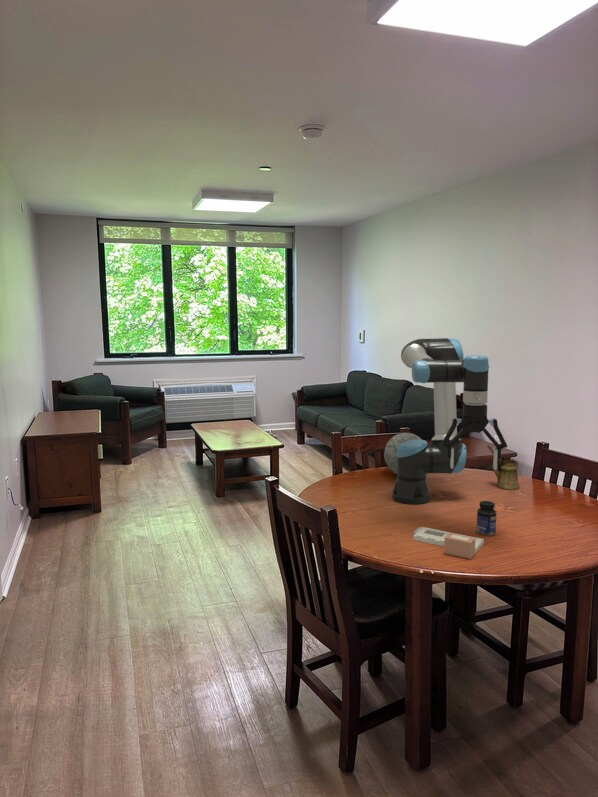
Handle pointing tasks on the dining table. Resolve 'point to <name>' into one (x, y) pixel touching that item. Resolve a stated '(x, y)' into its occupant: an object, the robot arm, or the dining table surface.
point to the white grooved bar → (440, 537)
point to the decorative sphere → (392, 446)
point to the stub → (459, 545)
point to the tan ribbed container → (506, 474)
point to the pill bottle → (486, 518)
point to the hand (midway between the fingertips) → (473, 468)
